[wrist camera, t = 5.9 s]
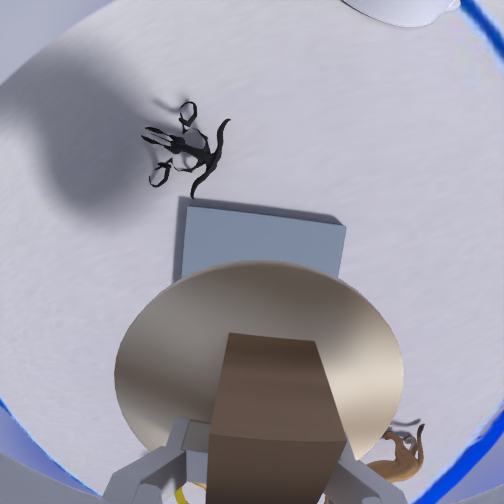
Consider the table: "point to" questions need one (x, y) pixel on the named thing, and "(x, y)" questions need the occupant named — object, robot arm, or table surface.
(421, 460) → the lion figurine
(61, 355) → the table surface
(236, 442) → the lid
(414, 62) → the table surface
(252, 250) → the mat
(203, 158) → the creature
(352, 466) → the robot arm
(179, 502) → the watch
